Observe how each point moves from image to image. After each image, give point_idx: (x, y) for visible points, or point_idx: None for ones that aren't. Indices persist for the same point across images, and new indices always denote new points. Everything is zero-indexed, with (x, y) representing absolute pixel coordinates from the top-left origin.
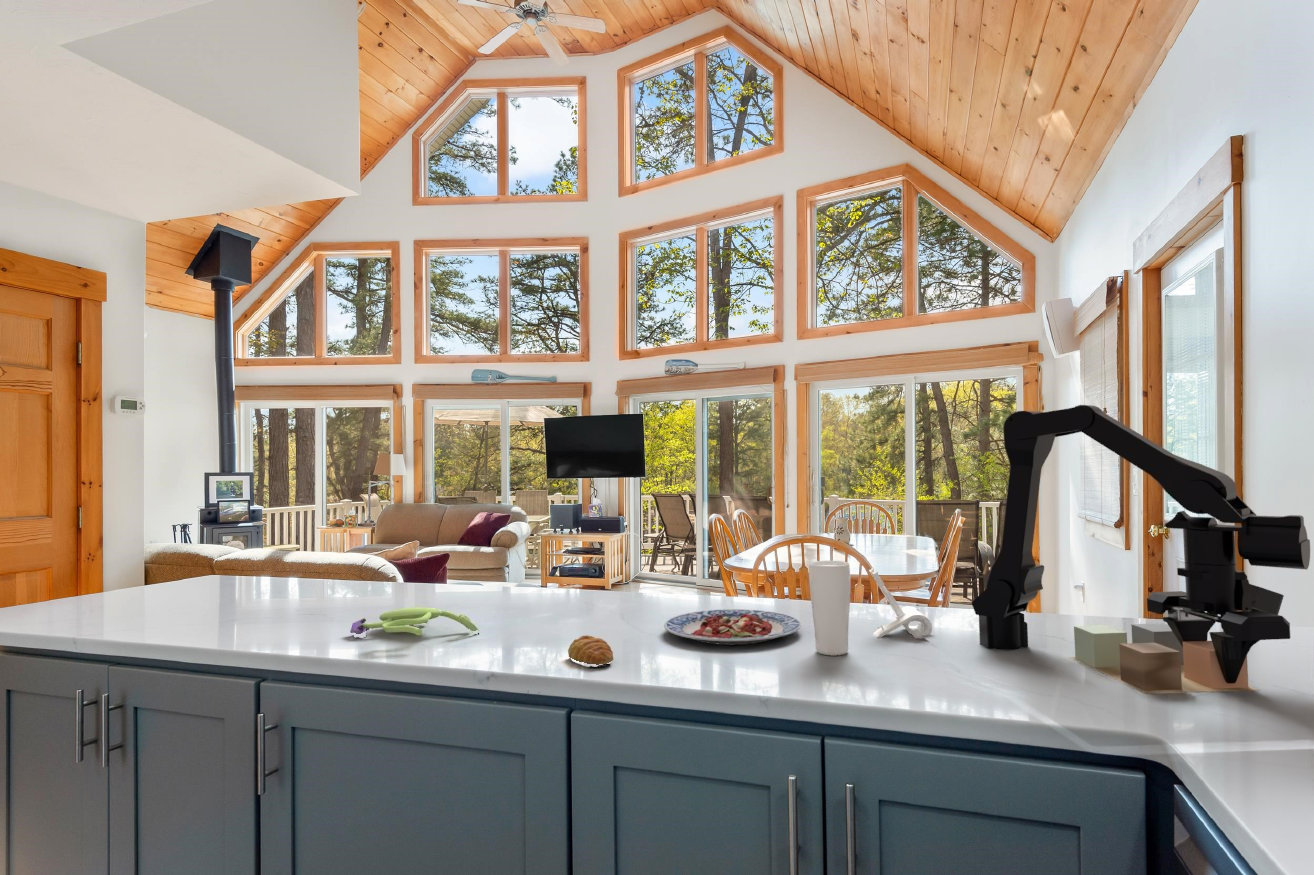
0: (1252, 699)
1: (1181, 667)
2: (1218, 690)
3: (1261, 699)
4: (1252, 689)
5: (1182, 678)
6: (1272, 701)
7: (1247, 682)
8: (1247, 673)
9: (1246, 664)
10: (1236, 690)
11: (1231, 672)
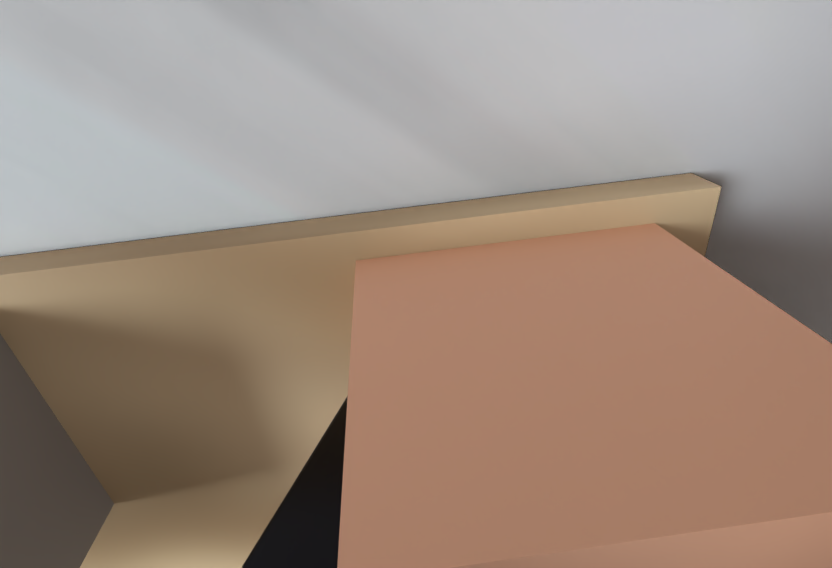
0: (727, 255)
1: (110, 387)
2: None
3: (747, 201)
4: (703, 227)
5: None
6: (805, 157)
7: (676, 244)
8: (732, 279)
9: (799, 333)
10: None
11: None
